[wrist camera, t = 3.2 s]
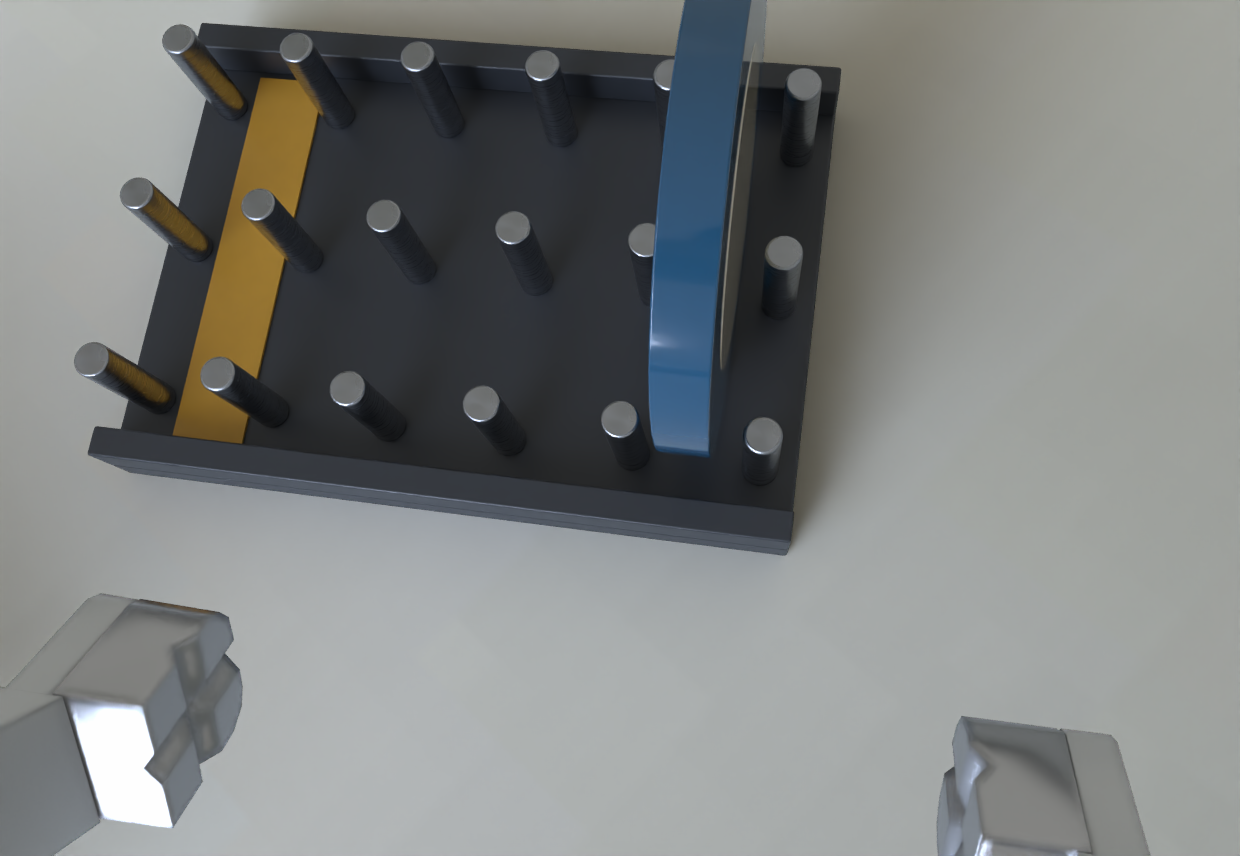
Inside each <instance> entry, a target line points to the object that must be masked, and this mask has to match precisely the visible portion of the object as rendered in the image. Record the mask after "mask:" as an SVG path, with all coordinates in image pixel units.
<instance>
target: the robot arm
mask: <svg viewBox="0 0 1240 856" xmlns="http://www.w3.org/2000/svg"><path fill="white" fill-rule="evenodd" d="M233 640H234V638H233V633H232V629H231V625H230V621H229V617H227V616H225V615H224V614H222V613H220V612H215V611H209V610H203V609H197V608H191V607H185V606H179V605H173V604H167V603H161V602H155V601H149V600H143V599H140V600H136V599H131V598H125V597H119V596H113V595H108V594H102V593H100V594H98V595H95V596H93V597H90V598H88V599H87V600H86V601H85V602H84V603H83V604H82V605H81V606H80V607H79V608H78V609H77V611H76V612H75V613H74V614H73V615H72V616H71V617H70V618H69V619H68V620H67V621H66V622H65V624H64V625H63V626H62V627H61V628H60V629H59V630H58V631H57V632H56V633H55V634H54V636H53V637H52V638H51V639H50V640H49V641H48V642H47V643H46V644H45V645H44V646H43V648H42V649H41V650H40V651H39V652H38V653H37V654H36V655H35V656H34V657H33V658H32V659H31V661H30V662H29V663H28V664H27V665H26V666H25V667H24V668H23V669H22V670H21V671H20V673H19V674H18V675H17V676H16V677H15V678H14V679H13V680H12V681H11V682H10V683H9V685H8V686H7V687H6V688H3V687H0V856H53V855H54V854H56V853H57V852H59V851H60V850H62V849H63V848H64V847H66V846H67V845H69V844H70V843H72V842H73V841H74V840H76V839H77V838H79V837H80V836H81V835H83V834H84V833H86V832H87V831H89V830H90V829H91V828H93V827H94V826H96V825H97V824H98V823H100V819H99V818H102V819H109V820H117V821H124V822H131V823H139V824H146V825H153V826H160V827H168V828H173V827H174V826H175V824H176V822H177V821H178V819H179V818H180V816H181V815H182V813H183V811H184V810H185V808H186V807H187V805H188V804H189V802H190V800H191V799H192V797H193V796H194V794H195V793H196V791H197V790H198V788H199V786H200V785H201V783H202V782H203V781H202V776H201V771H200V766H199V764H200V763H202V762H204V761H206V760H207V759H209V758H211V757H212V756H214V755H216V754H218V753H219V752H221V751H222V750H223V748H224V747H225V745H226V743H227V742H228V740H229V738H230V737H231V735H232V733H233V732H234V729H235V726H236V723H237V719H238V716H239V713H240V710H241V706H242V688H243V686H242V680H241V674H240V669H239V668H238V667H237V666H236V665H235V664H234V663H233V662H232V661H231V660H230V658H229V657H228V656H227V655H226V654H225V652H226V651H227V649H228V648H229V646H230V645H231V643H232V642H233ZM952 746H953V756H954V765H955V766H954V767H953V768H951V769H950V770H949V771H947V772H946V773H945V774H944V778H943V783H942V788H941V792H940V797H939V806H938V816H937V850H938V856H1151V855H1150V852H1149V848H1148V845H1147V842H1146V838H1145V835H1144V831H1143V828H1142V824H1141V821H1140V817H1139V814H1138V811H1137V807H1136V804H1135V800H1134V797H1133V793H1132V790H1131V787H1130V783H1129V780H1128V776H1127V773H1126V769H1125V766H1124V762H1123V759H1122V756H1121V752H1120V749H1119V745H1118V742H1117V741H1116V740H1115V739H1114V738H1113V737H1112V735H1108V734H1100V733H1092V732H1085V731H1077V730H1069V729H1060V730H1058V729H1056V728H1049V727H1042V726H1034V725H1027V724H1019V723H1011V722H1004V721H996V720H989V719H981V718H974V717H966V716H961V718H960V720H959V722H958V724H957V727H956V730H955V734H954V738H953V742H952Z"/></svg>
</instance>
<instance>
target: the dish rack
mask: <svg viewBox="0 0 1240 856" xmlns="http://www.w3.org/2000/svg"><path fill="white" fill-rule="evenodd" d="M162 43H163V47H164V49H165V50H166V52H167V53H168V54H169V55H170V56H171V58H172V59H173V60H174V61H175V62H176V63H177V65H178V66H179V67H180V68H181V69H182V71H183V72H184V73H185V74H186V75H187V77H188V78H189V79H190V80H191V81H192V82H193V84H194V85H195V86H196V87H197V88H198V90H199V91H200V92H201V93H202V94H203V96H204V97H205V98H206V102H205V106H204V110H203V114H202V117H201V121H200V125H199V129H198V133H197V137H196V141H195V145H194V148H193V152H192V156H191V160H190V164H189V168H188V172H187V176H186V179H185V183H184V187H183V191H182V195H181V199H180V203H179V207H177V206H176V205H175V204H174V203H173V202H171V201H170V200H169V199H168V198H167V197H166V196H165V195H164V194H163V193H162V192H161V191H160V190H159V189H158V188H156V187H155V186H154V185H153V184H152V183H151V182H150V181H149V180H147V179H145V178H133V179H131V180H129V181H128V182H126V183H125V184H124V186H123V187H122V189H121V192H120V198H121V202H122V204H123V205H124V206H125V207H126V208H127V209H128V210H130V211H131V212H132V213H133V214H134V215H135V216H137V217H138V218H139V219H140V220H141V221H142V222H144V223H145V224H146V225H147V226H148V227H149V228H151V229H152V230H153V231H154V232H155V233H157V234H158V235H159V236H160V237H161V238H162V239H164V240H165V241H166V242H167V243H168V244H169V245H168V249H167V253H166V257H165V261H164V265H163V269H162V272H161V276H160V280H159V284H158V288H157V292H156V296H155V300H154V303H153V307H152V311H151V315H150V319H149V323H148V327H147V331H146V334H145V338H144V342H143V346H142V350H141V354H140V358H139V361H138V365H136V364H134V363H133V362H131V361H129V360H128V359H126V358H124V357H123V356H121V355H119V354H118V353H116V352H115V351H113V350H111V349H110V348H108V347H106V346H105V345H103V344H101V343H98V342H91V343H88V344H85V345H84V346H82V347H81V348H80V349H79V350H78V352H77V353H76V355H75V359H74V364H75V368H76V370H77V371H78V373H79V374H81V375H82V376H84V377H86V378H88V379H90V380H92V381H94V382H95V383H97V384H99V385H101V386H103V387H105V388H107V389H108V390H110V391H112V392H114V393H116V394H118V395H120V396H121V397H123V398H125V399H127V400H128V404H127V408H126V412H125V416H124V420H123V423H122V427H121V429H115V428H107V427H99V426H97V427H95V428H94V431H93V435H92V439H91V443H90V446H89V450H88V455H90V456H92V457H94V458H97V459H99V460H102V461H104V462H106V463H109V464H111V465H114V466H116V467H118V468H121V469H123V470H125V471H128V472H130V473H137V474H145V475H153V476H161V477H169V478H177V479H185V480H193V481H200V482H208V483H216V484H224V485H232V486H240V487H248V488H256V489H264V490H271V491H279V492H287V493H295V494H303V495H311V496H319V497H327V498H335V499H342V500H350V501H358V502H366V503H374V504H382V505H390V506H398V507H406V508H414V509H421V510H429V511H437V512H445V513H453V514H461V515H469V516H477V517H485V518H492V519H500V520H508V521H516V522H524V523H532V524H540V525H548V526H556V527H563V528H571V529H579V530H587V531H595V532H603V533H611V534H619V535H627V536H634V537H642V538H650V539H658V540H666V541H674V542H682V543H690V544H698V545H706V546H713V547H721V548H729V549H737V550H745V551H753V552H761V553H769V554H777V555H786V554H787V552H788V549H789V546H790V543H791V537H792V527H793V518H794V512H793V504H794V495H795V485H796V476H797V467H798V457H799V448H800V439H801V429H802V420H803V411H804V401H805V392H806V383H807V373H808V364H809V355H810V345H811V336H812V327H813V317H814V308H815V298H816V289H817V280H818V270H819V261H820V252H821V242H822V233H823V224H824V214H825V205H826V196H827V186H828V177H829V168H830V158H831V149H832V139H833V130H834V121H835V113H836V107H837V101H838V95H839V86H840V77H841V69H840V68H837V67H823V66H808V65H794V64H780V63H765V62H763V70H762V83H761V95H760V107H759V118H758V129H757V140H756V151H755V161H754V171H753V181H752V191H751V201H750V210H749V220H748V229H747V238H746V247H745V256H744V264H743V273H742V281H741V289H740V298H739V306H738V313H737V321H736V329H735V336H734V344H733V351H732V358H731V365H730V372H729V379H728V385H727V392H726V398H725V404H724V410H723V416H722V421H721V427H720V432H719V437H718V441H717V445H716V448H715V452H714V454H713V456H712V457H711V458H705V457H696V456H688V455H679V454H671V453H662V452H659V451H657V450H656V449H655V446H654V444H653V440H652V435H651V428H650V418H649V398H648V349H649V318H650V297H651V279H652V263H653V250H654V236H655V223H656V212H657V201H658V190H659V180H660V170H661V160H662V151H663V142H664V133H665V125H666V117H667V109H668V101H669V94H670V86H671V79H672V72H673V65H674V59H675V56H666V55H651V54H637V53H623V52H609V51H594V50H580V49H566V48H551V47H537V46H523V45H509V44H494V43H480V42H466V41H452V40H437V39H423V38H409V37H394V36H380V35H366V34H352V33H337V32H323V31H309V30H295V29H280V28H266V27H252V26H237V25H223V24H209V23H202V24H201V27H200V31H199V34H198V36H197V35H196V34H195V32H194V31H193V30H192V29H191V28H190V27H188V26H186V25H175V26H172V27H170V28H169V29H168V30H167V31H166V32H165V34H164V35H163V39H162Z"/></svg>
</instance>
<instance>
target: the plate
mask: <svg viewBox="0 0 1240 856" xmlns="http://www.w3.org/2000/svg"><path fill="white" fill-rule="evenodd" d="M766 10H767V0H685V1H684V6H683V11H682V17H681V22H680V28H679V33H678V40H677V46H676V52H675V59H674V65H673V72H672V79H671V86H670V94H669V101H668V109H667V117H666V125H665V133H664V142H663V151H662V160H661V170H660V180H659V190H658V201H657V212H656V223H655V236H654V250H653V263H652V279H651V297H650V318H649V349H648V398H649V418H650V428H651V435H652V440H653V444H654V446H655V449H656V450H657V451H659V452H662V453H671V454H679V455H688V456H696V457H705V458H711V457H712V456H713V454H714V452H715V448H716V445H717V441H718V437H719V432H720V427H721V421H722V416H723V410H724V404H725V398H726V392H727V385H728V379H729V372H730V365H731V358H732V351H733V344H734V336H735V329H736V321H737V313H738V306H739V298H740V289H741V281H742V273H743V264H744V256H745V247H746V238H747V229H748V220H749V210H750V201H751V191H752V181H753V171H754V161H755V151H756V140H757V129H758V118H759V107H760V95H761V83H762V70H763V57H764V43H765V27H766Z"/></svg>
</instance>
